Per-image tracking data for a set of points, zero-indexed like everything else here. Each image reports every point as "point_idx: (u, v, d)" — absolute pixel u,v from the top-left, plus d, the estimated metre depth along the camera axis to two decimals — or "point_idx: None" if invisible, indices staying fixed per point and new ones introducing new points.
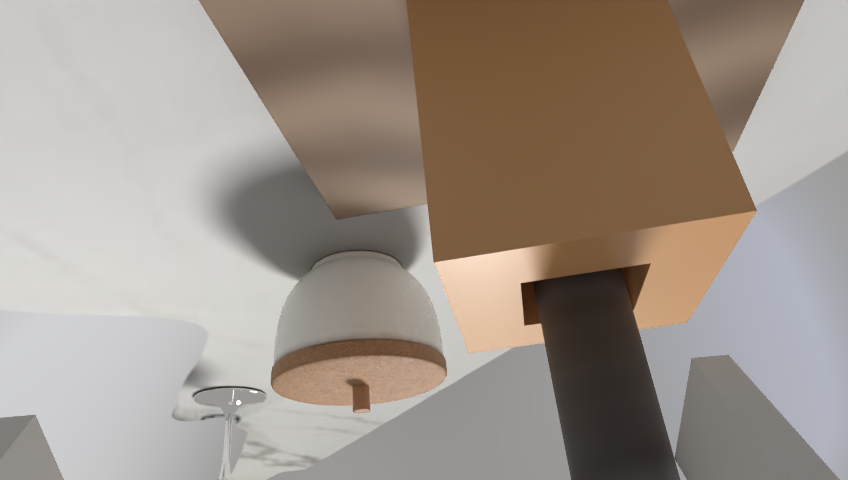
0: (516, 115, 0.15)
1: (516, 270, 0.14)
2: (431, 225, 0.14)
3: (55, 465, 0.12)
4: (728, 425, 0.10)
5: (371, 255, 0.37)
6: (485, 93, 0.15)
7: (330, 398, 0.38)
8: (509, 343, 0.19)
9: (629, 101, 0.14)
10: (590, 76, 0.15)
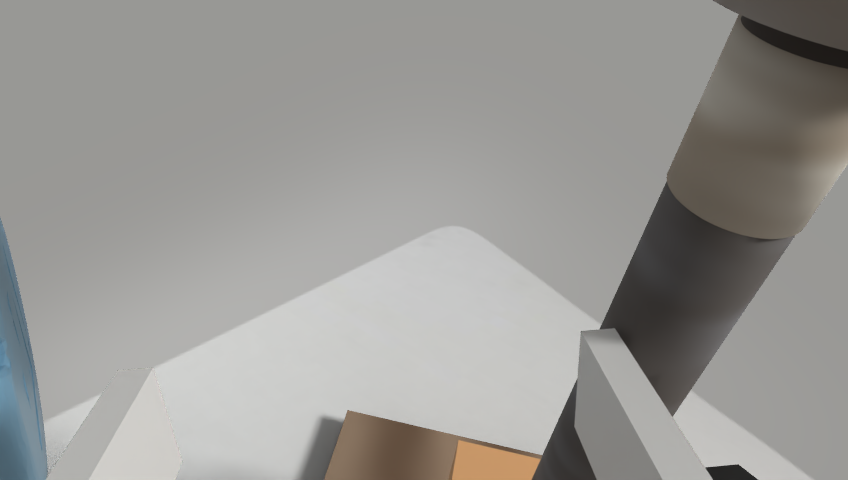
0: None
1: None
2: None
3: (166, 415, 0.13)
4: (603, 389, 0.12)
5: None
6: None
7: None
8: None
9: None
10: None
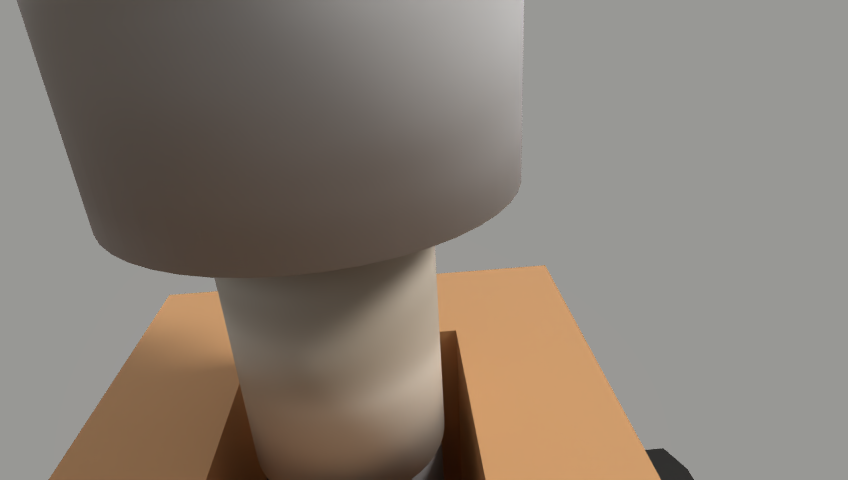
0: None
1: None
2: None
3: None
4: None
5: None
6: None
7: None
8: None
9: None
10: None
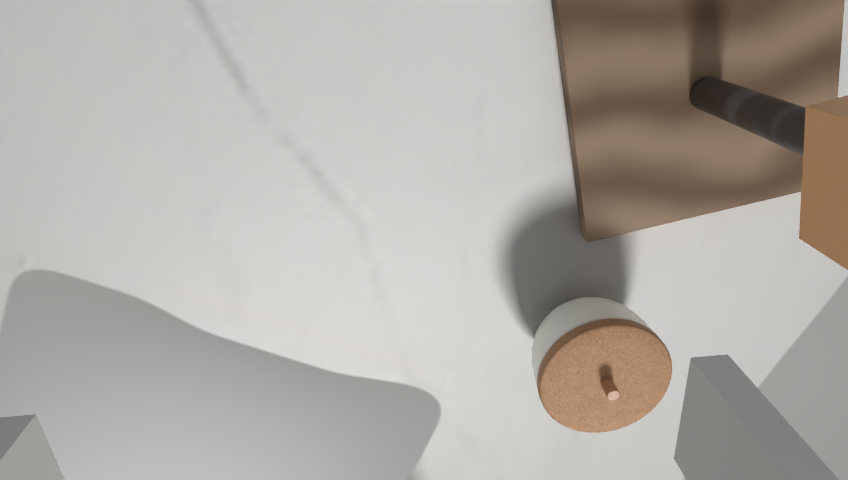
0: None
1: None
2: None
3: (55, 465, 0.12)
4: (727, 424, 0.10)
5: None
6: None
7: (578, 406, 0.47)
8: None
9: None
10: None
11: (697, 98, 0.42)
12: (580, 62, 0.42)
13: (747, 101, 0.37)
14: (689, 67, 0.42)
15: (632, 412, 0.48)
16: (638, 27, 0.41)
